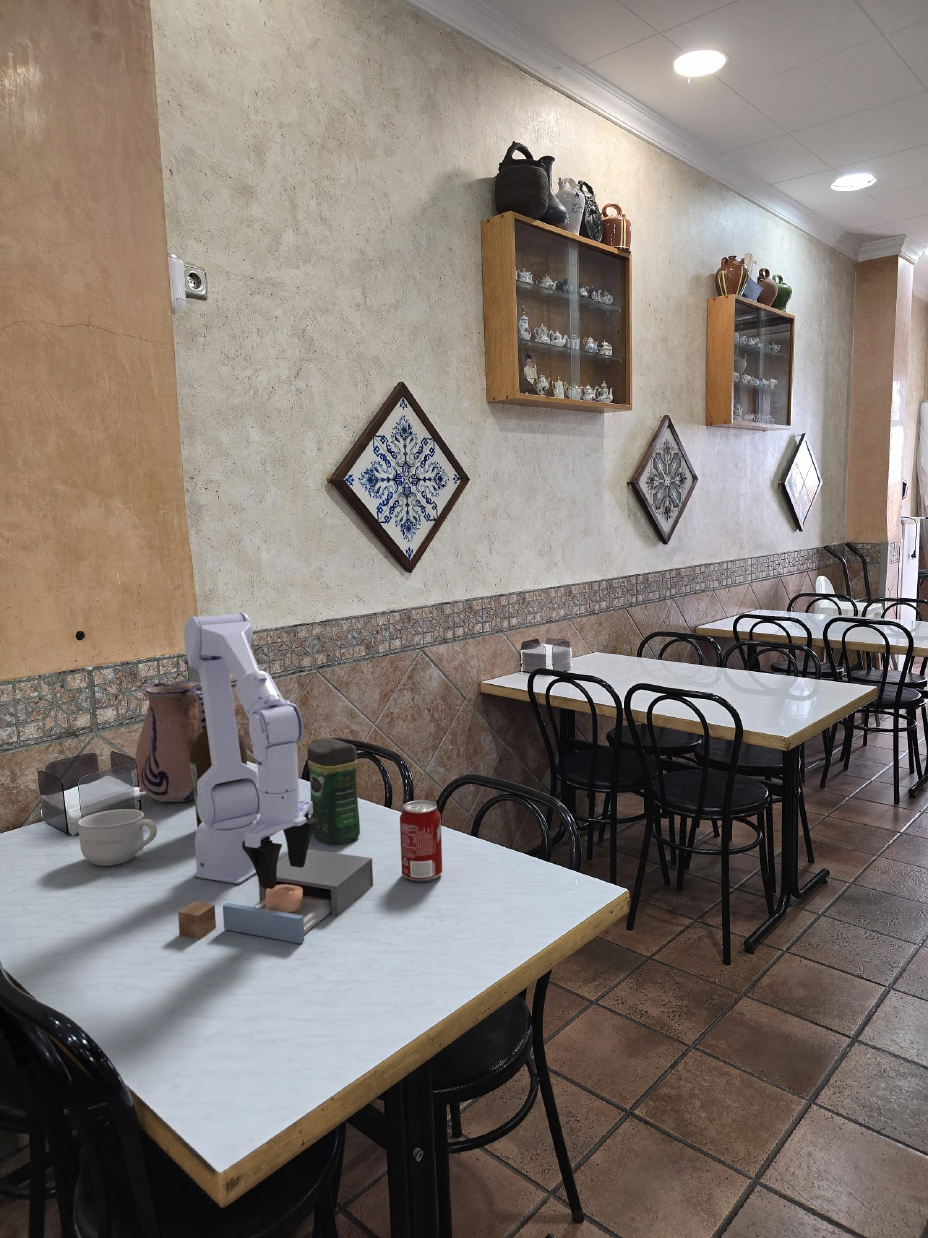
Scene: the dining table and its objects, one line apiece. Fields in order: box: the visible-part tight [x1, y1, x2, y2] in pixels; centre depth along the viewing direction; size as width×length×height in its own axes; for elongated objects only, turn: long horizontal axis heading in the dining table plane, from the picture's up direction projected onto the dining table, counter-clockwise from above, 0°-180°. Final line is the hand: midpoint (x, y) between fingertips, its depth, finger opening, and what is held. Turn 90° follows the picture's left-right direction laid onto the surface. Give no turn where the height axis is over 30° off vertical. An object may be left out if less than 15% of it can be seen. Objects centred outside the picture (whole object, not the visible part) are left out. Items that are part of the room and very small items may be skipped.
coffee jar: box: [307, 737, 361, 845], centre depth 155 cm, size 10×8×19 cm
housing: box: [257, 848, 374, 917], centre depth 131 cm, size 14×11×5 cm
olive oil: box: [190, 726, 248, 830], centre depth 159 cm, size 11×11×25 cm
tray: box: [222, 895, 332, 944], centre depth 122 cm, size 13×11×4 cm
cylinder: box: [265, 884, 304, 913], centre depth 123 cm, size 5×5×2 cm
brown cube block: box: [177, 901, 217, 940], centre depth 119 cm, size 4×4×4 cm
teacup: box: [77, 808, 158, 867], centre depth 146 cm, size 14×11×8 cm
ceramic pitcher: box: [134, 680, 207, 803], centre depth 180 cm, size 18×21×25 cm
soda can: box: [399, 799, 443, 883], centre depth 136 cm, size 7×7×12 cm
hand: (283, 876), depth 122 cm, fingers open, 7 cm apart
